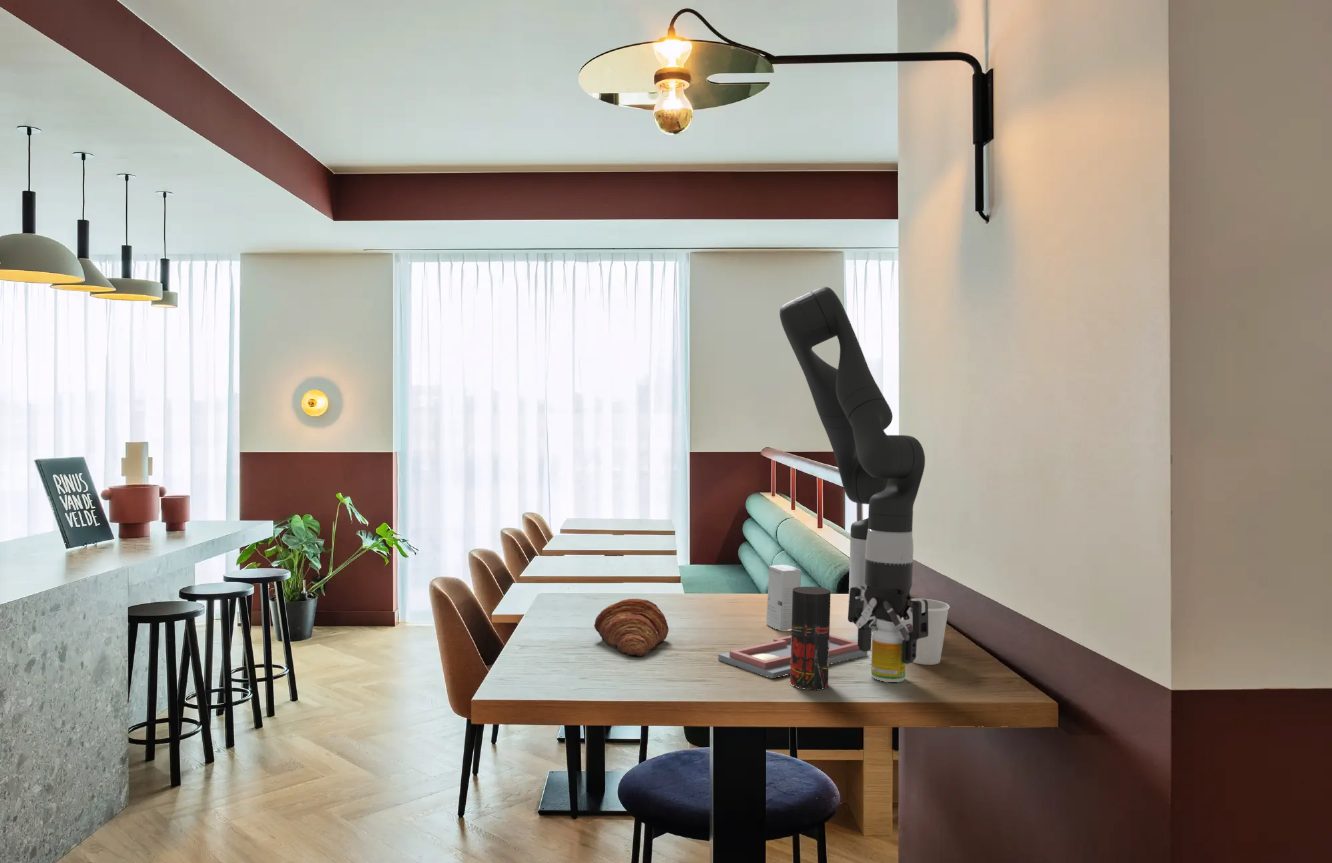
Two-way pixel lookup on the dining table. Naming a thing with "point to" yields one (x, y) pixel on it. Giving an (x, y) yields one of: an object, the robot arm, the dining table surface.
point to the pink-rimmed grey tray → (784, 655)
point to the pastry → (632, 626)
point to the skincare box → (781, 595)
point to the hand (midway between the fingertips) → (885, 656)
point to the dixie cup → (932, 633)
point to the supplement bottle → (887, 653)
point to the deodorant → (810, 637)
